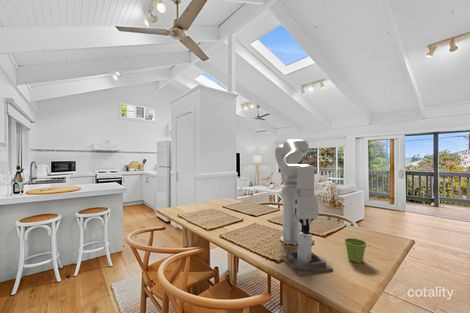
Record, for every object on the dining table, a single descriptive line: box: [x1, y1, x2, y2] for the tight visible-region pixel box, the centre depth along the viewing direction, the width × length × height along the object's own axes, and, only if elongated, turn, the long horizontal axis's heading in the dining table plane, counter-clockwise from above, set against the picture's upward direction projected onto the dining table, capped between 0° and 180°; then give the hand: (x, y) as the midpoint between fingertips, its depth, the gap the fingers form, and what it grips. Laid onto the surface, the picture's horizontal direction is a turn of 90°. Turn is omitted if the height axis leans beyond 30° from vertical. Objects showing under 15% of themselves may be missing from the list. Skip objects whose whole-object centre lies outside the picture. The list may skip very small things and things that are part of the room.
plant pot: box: [343, 237, 368, 264], centre depth 100 cm, size 9×9×9 cm
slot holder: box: [280, 251, 334, 277], centre depth 96 cm, size 16×16×3 cm
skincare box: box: [297, 232, 313, 264], centre depth 96 cm, size 6×4×12 cm
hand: (305, 233), depth 95 cm, fingers closed
